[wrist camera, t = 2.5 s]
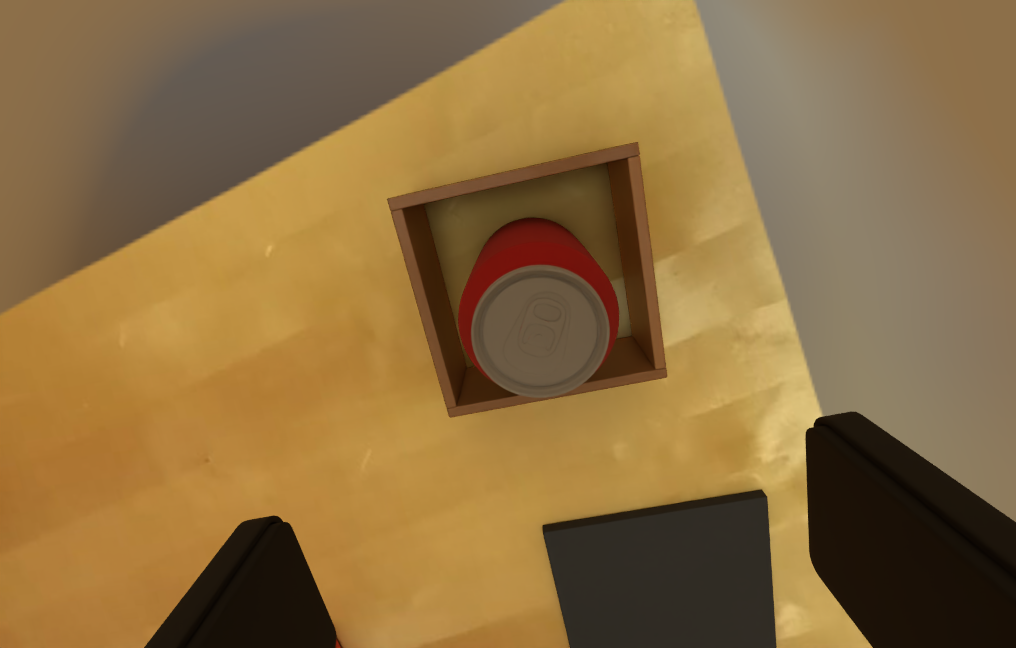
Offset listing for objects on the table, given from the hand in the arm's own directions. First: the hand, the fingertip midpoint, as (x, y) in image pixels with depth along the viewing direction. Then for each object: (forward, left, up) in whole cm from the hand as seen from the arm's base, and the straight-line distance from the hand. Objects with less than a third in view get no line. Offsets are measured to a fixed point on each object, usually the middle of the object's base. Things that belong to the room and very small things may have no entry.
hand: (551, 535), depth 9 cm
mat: (-5, +27, -22) cm, 35 cm away
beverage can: (0, 0, -23) cm, 23 cm away
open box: (0, 0, -22) cm, 22 cm away
